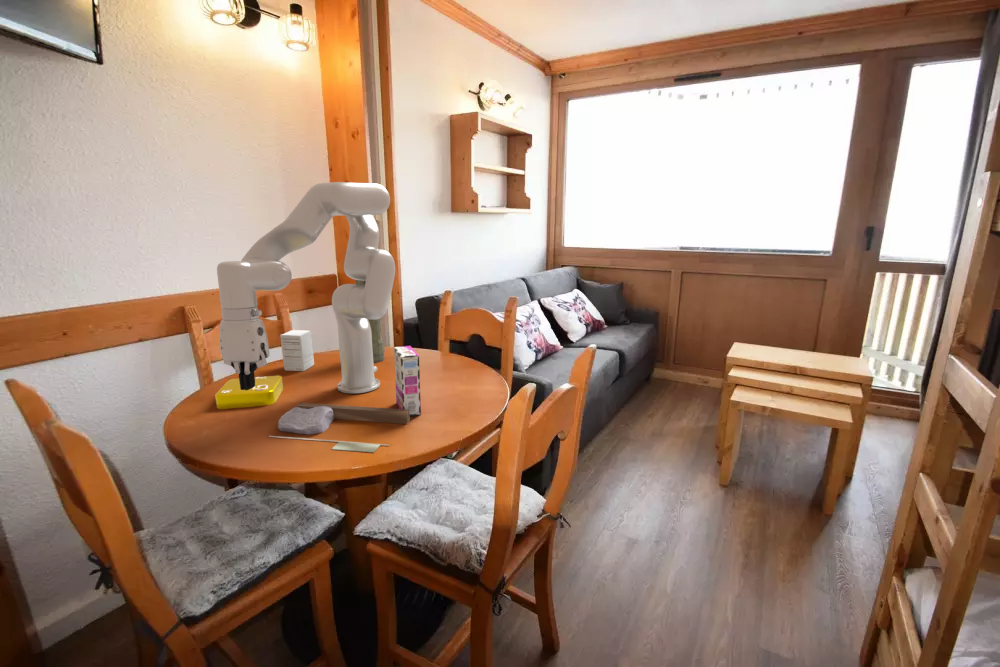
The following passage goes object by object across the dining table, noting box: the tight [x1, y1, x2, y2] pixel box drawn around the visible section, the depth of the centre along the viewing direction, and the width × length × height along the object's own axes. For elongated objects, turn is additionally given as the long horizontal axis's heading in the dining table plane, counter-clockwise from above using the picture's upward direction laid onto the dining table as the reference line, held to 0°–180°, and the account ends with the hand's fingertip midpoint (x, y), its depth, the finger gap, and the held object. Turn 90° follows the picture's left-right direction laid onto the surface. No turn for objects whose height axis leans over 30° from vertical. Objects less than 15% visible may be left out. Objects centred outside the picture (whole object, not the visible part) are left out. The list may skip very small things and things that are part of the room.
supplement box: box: [279, 329, 315, 372], centre depth 164 cm, size 7×7×13 cm
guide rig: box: [268, 402, 411, 454], centre depth 116 cm, size 18×30×3 cm, turn 81°
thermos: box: [355, 280, 386, 364], centre depth 170 cm, size 9×12×35 cm
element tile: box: [214, 375, 284, 410], centre depth 138 cm, size 15×15×5 cm
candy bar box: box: [393, 345, 422, 417], centre depth 128 cm, size 11×5×16 cm, turn 22°
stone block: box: [277, 406, 335, 436], centre depth 119 cm, size 12×5×10 cm
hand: (248, 388), depth 116 cm, fingers closed
